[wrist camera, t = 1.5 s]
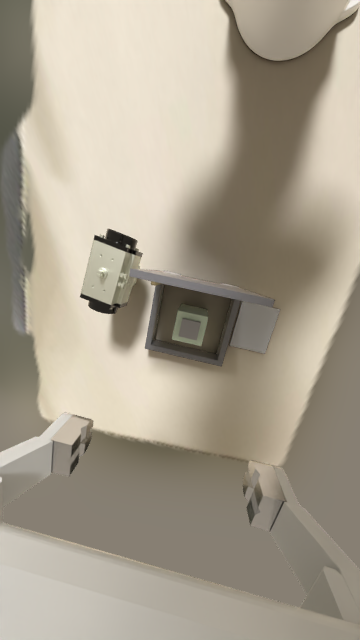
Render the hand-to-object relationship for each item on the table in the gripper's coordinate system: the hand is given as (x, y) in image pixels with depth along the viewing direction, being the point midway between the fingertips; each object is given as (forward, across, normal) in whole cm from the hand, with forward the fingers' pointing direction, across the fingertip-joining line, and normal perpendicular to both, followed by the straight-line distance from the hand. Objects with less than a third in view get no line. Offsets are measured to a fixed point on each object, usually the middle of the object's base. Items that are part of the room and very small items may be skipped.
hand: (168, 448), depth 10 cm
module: (+29, 0, 0) cm, 29 cm away
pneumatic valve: (+29, +13, -6) cm, 33 cm away
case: (+29, 0, 0) cm, 29 cm away
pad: (+29, -12, -1) cm, 32 cm away
